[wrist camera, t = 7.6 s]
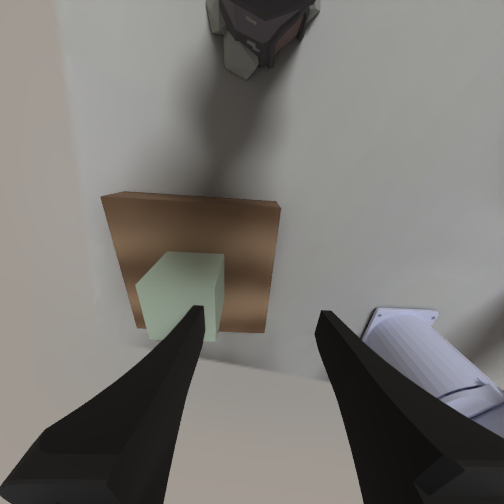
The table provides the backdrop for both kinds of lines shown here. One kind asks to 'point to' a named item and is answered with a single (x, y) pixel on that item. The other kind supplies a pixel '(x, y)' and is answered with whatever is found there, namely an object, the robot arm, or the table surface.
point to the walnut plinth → (199, 246)
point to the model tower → (258, 29)
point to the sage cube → (182, 292)
